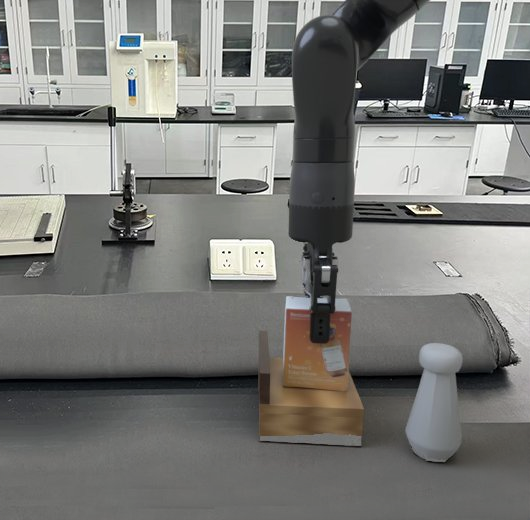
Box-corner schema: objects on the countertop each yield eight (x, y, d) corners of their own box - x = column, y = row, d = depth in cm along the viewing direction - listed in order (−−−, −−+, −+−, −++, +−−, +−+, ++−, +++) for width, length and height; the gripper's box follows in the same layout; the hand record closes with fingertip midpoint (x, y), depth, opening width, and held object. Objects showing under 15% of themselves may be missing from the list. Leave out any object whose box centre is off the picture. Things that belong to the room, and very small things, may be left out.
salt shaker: (466, 470, 58) (479, 359, 55) (410, 466, 59) (420, 356, 56) (450, 441, 63) (460, 338, 60) (399, 437, 64) (407, 336, 61)
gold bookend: (342, 392, 76) (345, 332, 74) (361, 447, 62) (366, 376, 60) (258, 388, 77) (258, 330, 75) (258, 442, 64) (259, 372, 62)
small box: (282, 387, 67) (283, 308, 64) (283, 369, 72) (284, 294, 70) (348, 392, 65) (352, 311, 63) (344, 373, 71) (348, 297, 68)
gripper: (365, 207, 56) (357, 356, 60) (343, 193, 70) (338, 315, 74) (293, 207, 57) (289, 354, 61) (285, 193, 71) (283, 314, 75)
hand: (316, 332), depth 67 cm, fingers closed on small box, 5 cm apart
